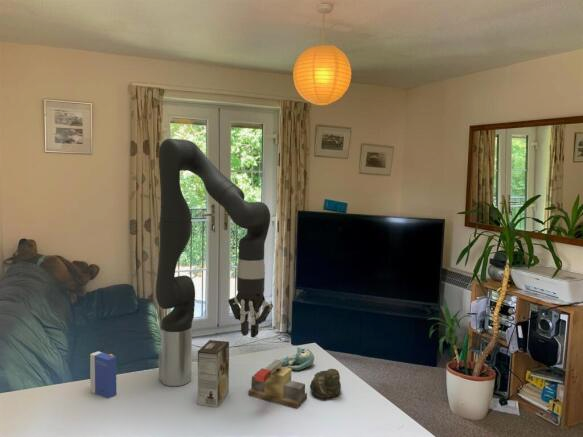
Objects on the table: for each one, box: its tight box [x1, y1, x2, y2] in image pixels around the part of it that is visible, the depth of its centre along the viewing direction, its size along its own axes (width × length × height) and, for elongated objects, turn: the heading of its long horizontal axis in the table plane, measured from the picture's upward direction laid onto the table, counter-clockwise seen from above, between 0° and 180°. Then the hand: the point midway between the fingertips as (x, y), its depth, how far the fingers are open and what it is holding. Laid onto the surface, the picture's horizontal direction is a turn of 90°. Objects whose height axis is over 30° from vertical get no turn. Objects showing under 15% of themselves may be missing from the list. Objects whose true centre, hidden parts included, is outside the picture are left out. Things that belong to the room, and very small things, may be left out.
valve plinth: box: [247, 365, 308, 410], centre depth 132 cm, size 16×7×8 cm, turn 65°
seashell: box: [309, 368, 342, 399], centre depth 136 cm, size 11×12×10 cm
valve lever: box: [254, 359, 283, 382], centre depth 127 cm, size 12×3×3 cm, turn 155°
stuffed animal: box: [279, 346, 315, 372], centre depth 154 cm, size 11×7×12 cm
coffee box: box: [197, 339, 230, 408], centre depth 130 cm, size 9×6×16 cm
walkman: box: [89, 351, 117, 399], centre depth 131 cm, size 8×3×12 cm, turn 63°
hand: (249, 335), depth 124 cm, fingers closed
